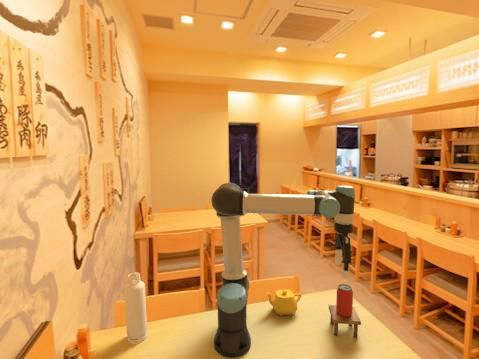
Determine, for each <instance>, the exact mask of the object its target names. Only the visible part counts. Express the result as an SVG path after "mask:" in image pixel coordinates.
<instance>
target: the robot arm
mask: <svg viewBox="0 0 479 359" xmlns="http://www.w3.org/2000/svg"><path fill="white" fill-rule="evenodd" d="M355 190H356V188H355V187H353V186H351V185H337V186H336V187H335V190H322V189H321V190H319V189H312V190H310V189H309V190H307V192H306V194H285V193H283V194H281V193H278V194H276V193H248V192H247V191H245V190H242V188H241V187H240V186H239V185H237V184H236V183H233V182H225V183H223V184H221V185H220V186H218V188H217V189H215V190H214V192H213V193H212V195H211V202H210V203H211V206H212V208H213V210H214V211H215V212H216V216H217V217H218V218H219V220H220V231H221V232H220V233H221V242H222V243H221V245H222V253H223V254H222V255H223V267H224V270H223V271H222V272H221V285H222V286H221V287H220V288H219V289H218V292H217V296H216V303H217V329H216V331H215V335H214V339H213V347H214V350H215V352H216V353H217V354H218V355H220V356H222V357H225V358H239V357H242V356H244V355H246V354H247V353H248V352H249V350H250V349H251V346H252V338H251V334H250V332H249V330H248V329H249V328H248V326H247V307H248V306H247V305H248V297H249V289H250V282H249V278H248V271H247V270H246V269H245V267H244V256H243V244H242V243H243V242H242V230H241V228H242V227H241V217H243V216H244V217H245V216H246V215H247V214H259V215H261V214H267V215H268V214H269V215H298V216H299V215H301V216H302V215H303V216H306V215H307V216H322V217H325V218H326V219H333V218H334V222H333V224H334V226H333V230H334V231H335V232H336V236H335V241H334V247H335V253H334V254H335V255H334V256H335V257H334V263H335V265H341V278H342V279H349V278H350V264H352V255H351V254H352V253H351V238H350V237H349V235H348V234H352V233H353V232H354V218H355V216H356V214H354V213H355V199H356V192H355Z"/></svg>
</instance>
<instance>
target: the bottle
mask: <svg viewBox="0 0 479 359" xmlns="http://www.w3.org/2000/svg"><path fill="white" fill-rule="evenodd" d="M131 275H135V276H133V277H132V276H131ZM127 281H128V282H127V283H126V285H124V290H123V291H124V308H125V309H124V310H125V322H126V323H125V324H126V325H125V326H126V340H128V341H127V343H129V342H130V343H129V344H131V343H133V344H132V345H135V344H134V343H137V344H140V343H142V342H144V341H145V340H146V339H147V338H146V337H148V324H147V321H148V319H147V305H146V304H147V303H146V302H147V301H146V284H145V282H144V281H142V280H141V273H140V272H138V271H135V272H131V273H129V274H127ZM143 340H144V341H143Z"/></svg>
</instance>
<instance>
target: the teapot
mask: <svg viewBox="0 0 479 359" xmlns="http://www.w3.org/2000/svg"><path fill="white" fill-rule="evenodd" d="M265 294H266V295H267V297H268V301H269V304H270V305H271V306H272V308H273V310H274V311H275V313H276V314H278V316H281V317H282V316H283V315H284V316H285V315H286V316H287V315H289V316H293V315H294V314H296V312H297V311H298V302H299V301H300V300H301V299H302V294H301V293H299V292H296V293H294V292H293V291H292V290H291V289H277V290H275V292H274V294H273V297H272V294H271V293H270V292H268V291H267V292H265ZM296 297H297V298H296Z"/></svg>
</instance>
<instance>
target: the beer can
mask: <svg viewBox="0 0 479 359" xmlns="http://www.w3.org/2000/svg"><path fill="white" fill-rule="evenodd" d="M353 300H354V291H353V288H352V286H350V284H349V285H348V284H346V283H341V284H338V286H337V288H336V304H335V305H336V312H337V313H338V314H339V315H340V316H343V317H349V316H351V315H352V307H354V306H353V304H354V303H353V302H354V301H353Z"/></svg>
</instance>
